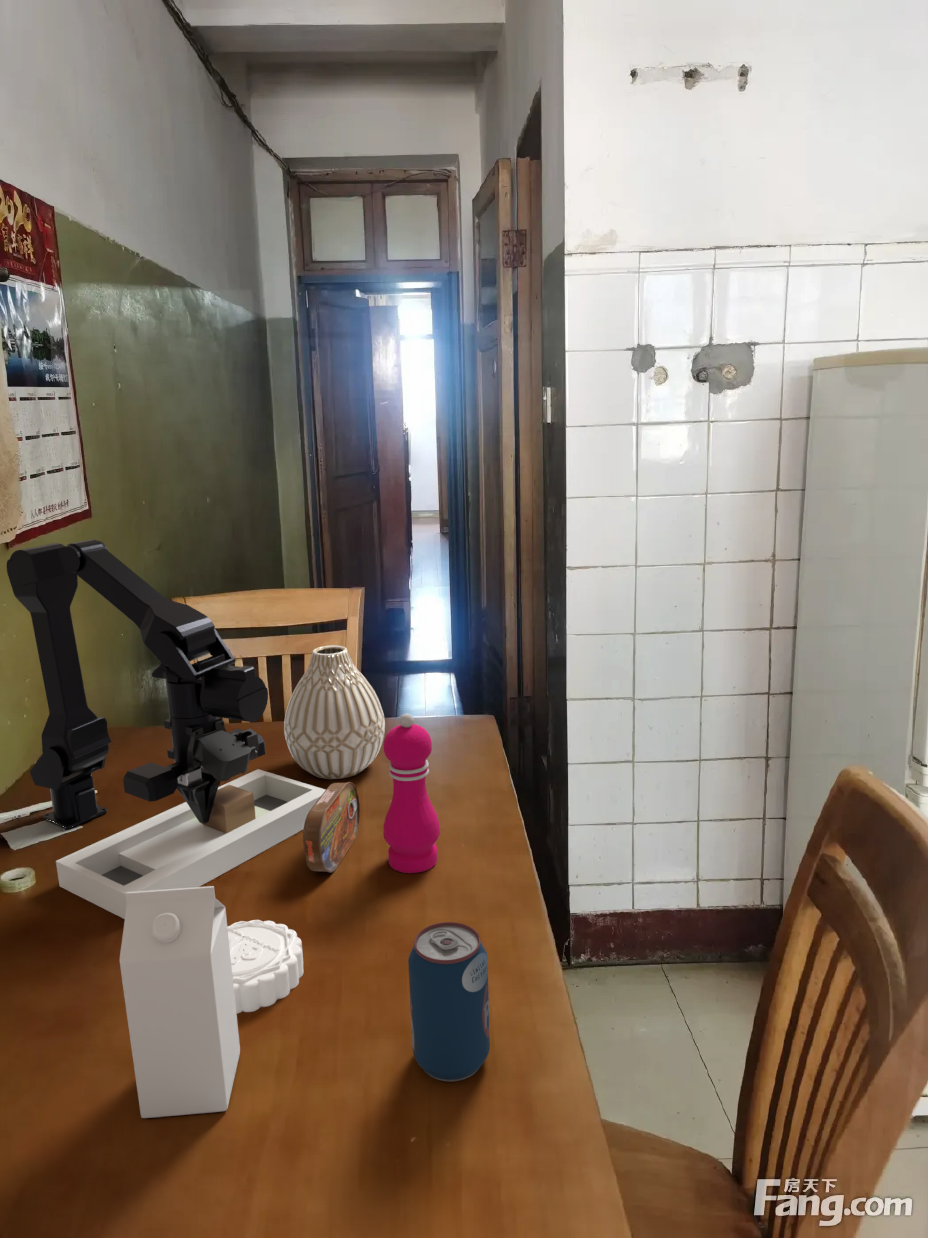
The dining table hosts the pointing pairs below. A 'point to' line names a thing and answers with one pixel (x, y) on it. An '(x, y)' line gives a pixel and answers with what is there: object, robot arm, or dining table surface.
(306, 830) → the tin
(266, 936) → the mooncake
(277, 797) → the box
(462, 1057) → the soda can
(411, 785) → the pepper mill
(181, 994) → the milk carton
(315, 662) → the vase
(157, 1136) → the dining table surface
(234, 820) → the walnut block
